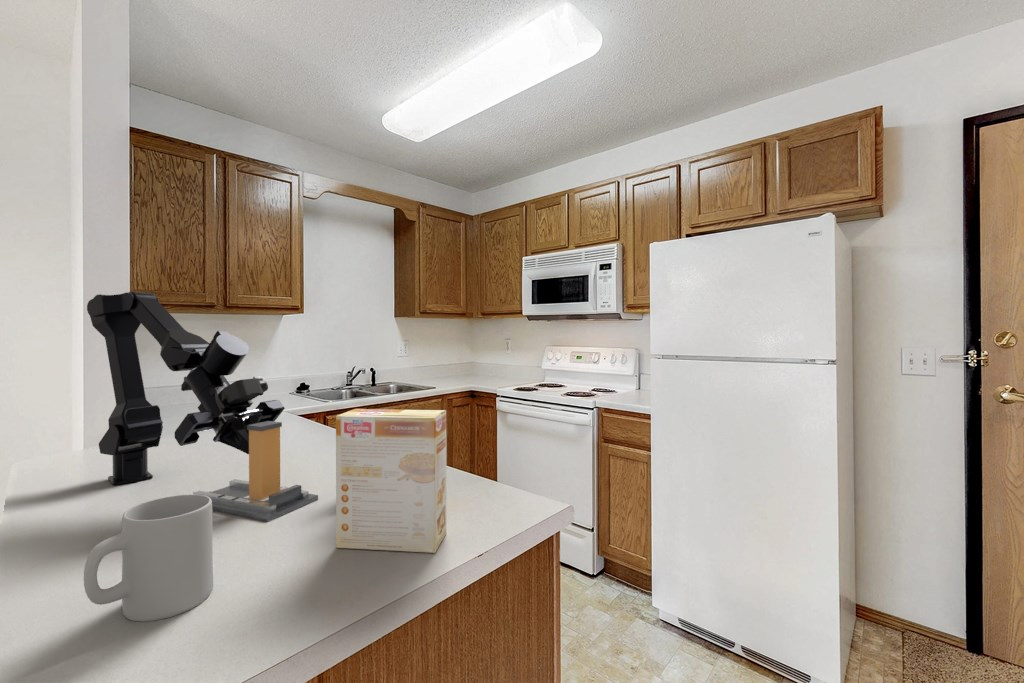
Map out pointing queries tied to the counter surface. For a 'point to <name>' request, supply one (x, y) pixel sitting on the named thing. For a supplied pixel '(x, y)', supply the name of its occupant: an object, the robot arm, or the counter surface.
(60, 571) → the counter surface
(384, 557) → the counter surface
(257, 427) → the fader tab
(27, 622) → the counter surface
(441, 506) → the coffeecake box
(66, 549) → the counter surface
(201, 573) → the mug
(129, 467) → the robot arm
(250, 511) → the plate
